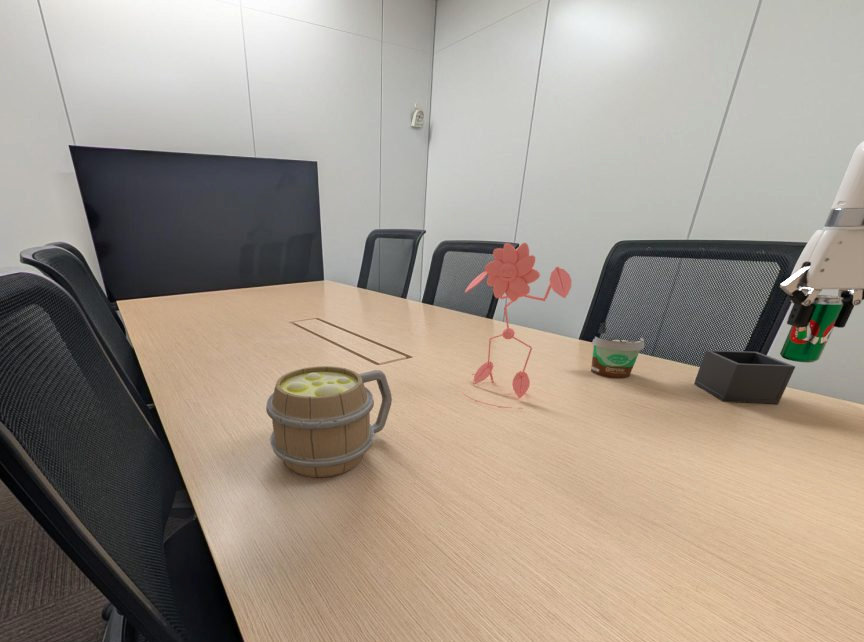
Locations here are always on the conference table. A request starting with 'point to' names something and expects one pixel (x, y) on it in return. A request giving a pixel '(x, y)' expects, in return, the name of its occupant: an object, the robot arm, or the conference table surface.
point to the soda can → (813, 330)
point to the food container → (615, 357)
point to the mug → (325, 418)
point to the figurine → (515, 297)
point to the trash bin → (743, 376)
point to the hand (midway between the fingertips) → (814, 324)
